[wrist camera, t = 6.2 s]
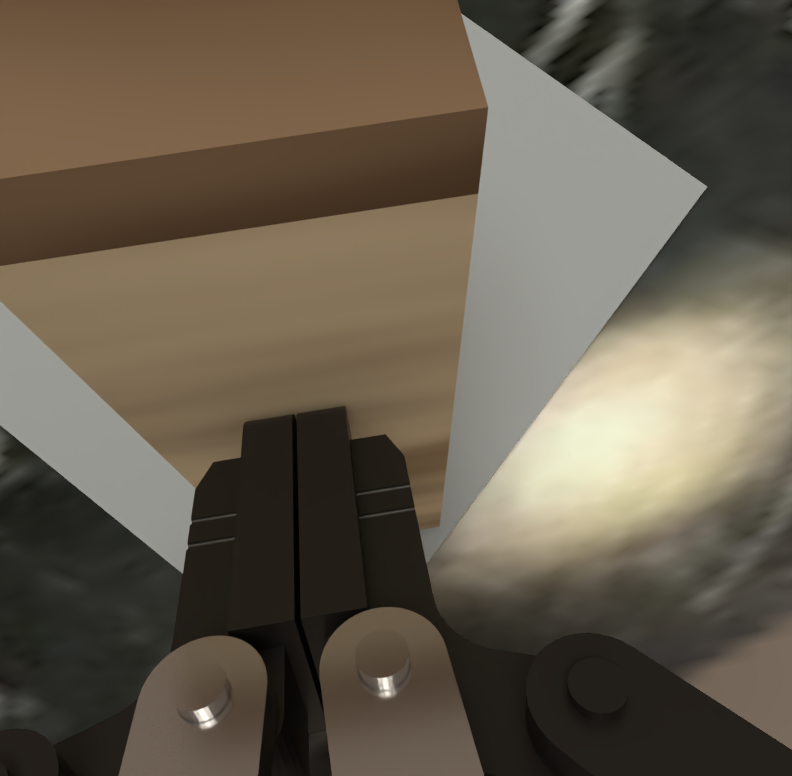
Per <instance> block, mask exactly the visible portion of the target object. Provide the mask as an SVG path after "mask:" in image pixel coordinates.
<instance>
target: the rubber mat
mask: <svg viewBox="0 0 792 776" xmlns="http://www.w3.org/2000/svg"><path fill="white" fill-rule="evenodd" d="M461 15H462V14H461ZM462 18H463V22H464V25H465V29H466V32H467V36H468V39H469V42H470V46H471V49H472V53H473V56H474V60H475V63H476V66H477V70H478V73H479V77H480V80H481V84H482V87H483V90H484V94H485V97H486V101H487V104H488V115H487V123H486V132H485V141H484V149H483V158H482V166H481V175H480V184H479V192H478V201H477V209H476V218H475V226H474V235H473V244H472V252H471V261H470V269H469V278H468V287H467V295H466V304H465V312H464V321H463V330H462V338H461V347H460V355H459V364H458V372H457V381H456V390H455V398H454V407H453V415H452V424H451V433H450V441H449V450H448V458H447V467H446V476H445V484H444V493H443V501H442V510H441V518H440V526H439V527H433V528H427V529H421V530H420V535H421V540H422V545H423V550H424V555H425V560H426V564H427V563H428V562H429V561H430V559H431V558H432V557H433V555H434V554H435V553H436V551H437V550H438V549H439V547H440V546H441V545H442V543H443V542H444V541H445V539H446V538H447V537H448V535H449V534H450V533H451V531H452V530H453V528H454V527H455V526H456V524H457V523H458V522H459V520H460V519H461V518H462V516H463V515H464V514H465V512H466V511H467V510H468V508H469V507H470V506H471V504H472V503H473V502H474V500H475V499H476V497H477V496H478V495H479V493H480V492H481V491H482V489H483V488H484V487H485V485H486V484H487V483H488V481H489V480H490V479H491V477H492V476H493V475H494V473H495V472H496V471H497V469H498V468H499V466H500V465H501V464H502V462H503V461H504V460H505V458H506V457H507V456H508V454H509V453H510V452H511V450H512V449H513V448H514V446H515V445H516V444H517V442H518V441H519V440H520V438H521V437H522V436H523V434H524V433H525V431H526V430H527V429H528V427H529V426H530V425H531V423H532V422H533V421H534V419H535V418H536V417H537V415H538V414H539V413H540V411H541V410H542V409H543V407H544V406H545V405H546V403H547V402H548V400H549V399H550V398H551V396H552V395H553V394H554V392H555V391H556V390H557V388H558V387H559V386H560V384H561V383H562V382H563V380H564V379H565V378H566V376H567V375H568V374H569V372H570V371H571V370H572V368H573V367H574V365H575V364H576V363H577V361H578V360H579V359H580V357H581V356H582V355H583V353H584V352H585V351H586V349H587V348H588V347H589V345H590V344H591V343H592V341H593V340H594V339H595V337H596V336H597V334H598V333H599V332H600V330H601V329H602V328H603V326H604V325H605V324H606V322H607V321H608V320H609V318H610V317H611V316H612V314H613V313H614V312H615V310H616V309H617V308H618V306H619V305H620V304H621V302H622V301H623V299H624V298H625V297H626V295H627V294H628V293H629V291H630V290H631V289H632V287H633V286H634V285H635V283H636V282H637V281H638V279H639V278H640V277H641V275H642V274H643V273H644V271H645V270H646V268H647V267H648V266H649V264H650V263H651V262H652V260H653V259H654V258H655V256H656V255H657V254H658V252H659V251H660V250H661V248H662V247H663V246H664V244H665V243H666V242H667V240H668V239H669V238H670V236H671V235H672V233H673V232H674V231H675V229H676V228H677V227H678V225H679V224H680V223H681V221H682V220H683V219H684V217H685V216H686V215H687V213H688V212H689V211H690V209H691V208H692V207H693V205H694V204H695V202H696V201H697V200H698V198H699V197H700V196H701V194H702V193H703V192H704V190H705V189H706V188H707V186H705V185H704V184H703V183H701V182H700V181H698V180H697V179H695V178H694V177H693V176H691V175H690V174H688V173H687V172H686V171H684V170H683V169H681V168H680V167H678V166H677V165H676V164H674V163H673V162H671V161H670V160H668V159H667V158H666V157H664V156H663V155H661V154H660V153H659V152H657V151H656V150H654V149H653V148H651V147H650V146H649V145H647V144H646V143H644V142H643V141H641V140H640V139H639V138H637V137H636V136H634V135H633V134H632V133H630V132H629V131H627V130H626V129H624V128H623V127H622V126H620V125H619V124H617V123H616V122H614V121H613V120H612V119H610V118H609V117H607V116H606V115H605V114H603V113H602V112H600V111H599V110H597V109H596V108H595V107H593V106H592V105H590V104H589V103H587V102H586V101H585V100H583V99H582V98H580V97H579V96H578V95H576V94H575V93H573V92H572V91H570V90H569V89H568V88H566V87H565V86H563V85H562V84H560V83H559V82H558V81H556V80H555V79H553V78H552V77H551V76H549V75H548V74H546V73H545V72H543V71H542V70H541V69H539V68H538V67H536V66H535V65H533V64H532V63H531V62H529V61H528V60H526V59H525V58H524V57H522V56H521V55H519V54H518V53H516V52H515V51H514V50H512V49H511V48H509V47H508V46H506V45H505V44H504V43H502V42H501V41H499V40H498V39H497V38H495V37H494V36H492V35H491V34H489V33H488V32H487V31H485V30H484V29H482V28H481V27H479V26H478V25H477V24H475V23H474V22H472V21H471V20H469V19H468V18H467V17H465V16H464V15H462ZM0 425H1V426H2V427H3V428H4V429H6V430H7V431H8V432H9V433H11V434H12V435H13V436H14V437H15V438H17V439H18V440H19V441H20V442H22V443H23V444H24V445H25V446H27V447H28V448H29V449H30V450H31V451H33V452H34V453H35V454H36V455H38V456H39V457H40V458H41V459H42V460H44V461H45V462H46V463H47V464H49V465H50V466H51V467H52V468H54V469H55V470H56V471H57V472H58V473H60V474H61V475H62V476H63V477H65V478H66V479H67V480H68V481H69V482H71V483H72V484H73V485H74V486H76V487H77V488H78V489H79V490H81V491H82V492H83V493H84V494H85V495H87V496H88V497H89V498H90V499H92V500H93V501H94V502H95V503H96V504H98V505H99V506H100V507H101V508H103V509H104V510H105V511H106V512H108V513H109V514H110V515H111V516H112V517H114V518H115V519H116V520H117V521H119V522H120V523H121V524H122V525H124V526H125V527H126V528H127V529H128V530H130V531H131V532H132V533H133V534H135V535H136V536H137V537H138V538H139V539H141V540H142V541H143V542H144V543H146V544H147V545H148V546H149V547H151V548H152V549H153V550H154V551H155V552H157V553H158V554H159V555H160V556H162V557H163V558H164V559H165V560H166V561H168V562H169V563H170V564H171V565H173V566H174V567H175V568H176V569H178V570H179V571H180V572H181V573H182V574H183V569H184V562H185V555H186V550H187V549H188V544H187V542H188V535H189V528H190V525H191V524H192V522H191V514H192V508H193V501H194V494H195V489H196V488H195V487H194V486H193V485H191V484H190V483H189V482H188V481H187V480H186V479H185V478H184V477H183V476H182V475H181V474H180V473H179V472H178V471H177V470H176V469H175V468H174V467H173V466H172V465H171V464H170V463H169V462H167V461H166V460H165V459H164V458H163V457H162V456H161V455H160V454H159V453H158V452H157V451H156V450H155V449H154V448H153V447H152V446H151V445H150V444H149V443H148V442H147V441H146V440H145V439H143V438H142V437H141V436H140V435H139V434H138V433H137V432H136V431H135V430H134V429H133V428H132V427H131V426H130V425H129V424H128V423H127V422H126V421H125V420H124V419H123V418H122V417H121V416H120V415H118V414H117V413H116V412H115V411H114V410H113V409H112V408H111V407H110V406H109V405H108V404H107V403H106V402H105V401H104V400H103V399H102V398H101V397H100V396H99V395H98V394H97V393H96V392H94V391H93V390H92V389H91V388H90V387H89V386H88V385H87V384H86V383H85V382H84V381H83V380H82V379H81V378H80V377H79V376H78V375H77V374H76V373H75V372H74V371H73V370H72V369H71V368H69V367H68V366H67V365H66V364H65V363H64V362H63V361H62V360H61V359H60V358H59V357H58V356H57V355H56V354H55V353H54V352H53V351H52V350H51V349H50V348H49V347H48V346H47V345H45V344H44V343H43V342H42V341H41V340H40V339H39V338H38V337H37V336H36V335H35V334H34V333H33V332H32V331H31V330H30V329H29V328H28V327H27V326H26V325H25V324H24V323H23V322H21V321H20V320H19V319H18V318H17V317H16V316H15V315H14V314H13V313H12V312H11V311H10V310H9V309H8V308H7V307H6V306H5V305H4V304H3V303H2V302H1V301H0Z"/></svg>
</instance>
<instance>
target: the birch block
mask: <svg viewBox="0 0 792 776" xmlns="http://www.w3.org/2000/svg"><path fill="white" fill-rule="evenodd" d="M487 115H488V104H487V101H486V97H485V94H484V90H483V87H482V84H481V80H480V77H479V73H478V70H477V66H476V63H475V60H474V56H473V53H472V49H471V46H470V42H469V39H468V36H467V32H466V29H465V25H464V22H463V18H462V15H461V12H460V8H459V5H458V1H457V0H0V301H1V302H2V303H3V304H4V305H5V306H6V307H7V308H8V309H9V310H10V311H11V312H12V313H13V314H14V315H15V316H16V317H17V318H18V319H19V320H20V321H21V322H23V323H24V324H25V325H26V326H27V327H28V328H29V329H30V330H31V331H32V332H33V333H34V334H35V335H36V336H37V337H38V338H39V339H40V340H41V341H42V342H43V343H44V344H45V345H47V346H48V347H49V348H50V349H51V350H52V351H53V352H54V353H55V354H56V355H57V356H58V357H59V358H60V359H61V360H62V361H63V362H64V363H65V364H66V365H67V366H68V367H69V368H71V369H72V370H73V371H74V372H75V373H76V374H77V375H78V376H79V377H80V378H81V379H82V380H83V381H84V382H85V383H86V384H87V385H88V386H89V387H90V388H91V389H92V390H93V391H94V392H96V393H97V394H98V395H99V396H100V397H101V398H102V399H103V400H104V401H105V402H106V403H107V404H108V405H109V406H110V407H111V408H112V409H113V410H114V411H115V412H116V413H117V414H118V415H120V416H121V417H122V418H123V419H124V420H125V421H126V422H127V423H128V424H129V425H130V426H131V427H132V428H133V429H134V430H135V431H136V432H137V433H138V434H139V435H140V436H141V437H142V438H143V439H145V440H146V441H147V442H148V443H149V444H150V445H151V446H152V447H153V448H154V449H155V450H156V451H157V452H158V453H159V454H160V455H161V456H162V457H163V458H164V459H165V460H166V461H167V462H169V463H170V464H171V465H172V466H173V467H174V468H175V469H176V470H177V471H178V472H179V473H180V474H181V475H182V476H183V477H184V478H185V479H186V480H187V481H188V482H189V483H190V484H191V485H193V486H194V487H195V488H196V487H197V486H198V484H199V483H200V481H201V480H202V478H203V477H204V475H205V474H206V472H207V471H208V469H209V468H210V466H211V465H212V463H213V462H216V461H222V460H229V459H235V458H241V447H242V434H243V425H244V423H245V422H247V421H254V420H260V419H266V418H273V417H279V416H285V415H292V414H294V415H295V418H296V420H297V414H298V413H303V412H310V411H316V410H322V409H329V408H335V407H341V406H346V410H347V415H348V420H349V426H350V431H351V437H352V440H353V439H359V438H365V437H371V436H378V435H384V434H386V435H387V437H388V438H389V439H390V440H391V441H392V442H393V443H394V444H395V446H396V447H397V448H398V449H399V450H400V451H401V452H402V453H403V455H404V456H405V461H406V466H407V471H408V476H409V481H410V487H411V491H412V496H413V500H414V505H415V511H416V515H417V520H418V525H419V530H421V529H427V528H433V527H439V526H440V518H441V510H442V501H443V493H444V484H445V476H446V467H447V458H448V450H449V441H450V433H451V424H452V415H453V407H454V398H455V390H456V381H457V372H458V364H459V355H460V347H461V338H462V330H463V321H464V312H465V304H466V295H467V287H468V278H469V269H470V261H471V252H472V244H473V235H474V226H475V218H476V209H477V201H478V192H479V184H480V175H481V166H482V158H483V149H484V141H485V132H486V123H487Z"/></svg>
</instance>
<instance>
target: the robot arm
mask: <svg viewBox="0 0 792 776" xmlns="http://www.w3.org/2000/svg"><path fill="white" fill-rule="evenodd" d="M191 522H192V524H191V525H190V528H189V535H188V542H187V544H188V549H187V550H186V555H185V562H184V569H183V576H182V583H181V589H180V596H179V603H178V610H177V617H176V624H175V630H174V637H173V643H172V648H171V652H170V654H169V655H168V656H167V657H165V658H164V659H163V660H162V661H161V662H160V663H159V664H158V665H157V666H156V667H155V668H154V670H153V671H152V672H151V674H150V675H149V677H148V678H147V680H146V682H145V683H144V685H143V687H142V689H141V692H140V695H139V698H138V699H137V700H136V701H135V702H134V703H133V704H131V705H130V706H128V707H127V708H125V709H124V710H123V711H121V712H119V713H118V714H116V715H114V716H112V717H110V718H108V719H106V720H104V721H102V722H100V723H98V724H96V725H94V726H92V727H90V728H88V729H86V730H84V731H82V732H80V733H78V734H76V735H74V736H71V737H69V738H67V739H65V740H63V741H61V742H59V743H57V744H55V745H52V744H51V743H50V742H49V741H48V740H47V739H46V738H45V737H44V736H43V735H41V734H39V733H37V732H35V731H31V730H27V729H9V730H3V731H0V776H309V739H308V734H309V733H315V732H320V731H327V739H328V747H329V755H330V763H331V771H332V776H792V750H791V749H789V748H788V747H786V746H785V745H783V744H782V743H780V742H779V741H777V740H776V739H774V738H772V737H771V736H769V735H768V734H766V733H765V732H763V731H762V730H760V729H759V728H757V727H755V726H754V725H752V724H751V723H749V722H748V721H746V720H745V719H743V718H742V717H740V716H738V715H737V714H735V713H734V712H732V711H731V710H729V709H728V708H726V707H725V706H723V705H721V704H720V703H718V702H717V701H715V700H713V699H712V698H711V697H709V696H708V695H706V694H704V693H703V692H701V691H700V690H698V689H697V688H695V687H694V686H692V685H691V684H689V683H687V682H686V681H684V680H683V679H681V678H680V677H678V676H677V675H675V674H674V673H672V672H670V671H669V670H667V669H666V668H664V667H663V666H661V665H660V664H658V663H657V662H655V661H653V660H652V659H650V658H649V657H647V656H646V655H644V654H643V653H641V652H639V651H638V650H636V649H635V648H633V647H632V646H630V645H628V644H626V643H624V642H623V641H620V640H618V639H615V638H612V637H609V636H605V635H601V634H592V633H580V634H573V635H568V636H564V637H562V638H560V639H557V640H555V641H553V642H552V643H550V644H549V645H547V646H546V647H545V648H544V649H543V650H542V651H541V652H539V654H538V655H537V656H534V655H527V654H519V653H512V652H505V651H498V650H493V649H489V648H485V647H482V646H479V645H476V644H474V643H472V642H470V641H468V640H466V639H464V638H463V637H461V636H460V635H458V634H457V633H456V632H454V631H453V630H452V629H451V628H450V627H449V626H448V625H447V624H446V622H445V621H444V620H443V618H442V617H441V616H440V614H439V612H438V610H437V608H436V605H435V602H434V598H433V594H432V589H431V584H430V579H429V574H428V569H427V564H426V560H425V555H424V550H423V545H422V540H421V535H420V530H419V525H418V520H417V515H416V511H415V505H414V500H413V496H412V491H411V487H410V481H409V476H408V471H407V466H406V461H405V456H404V455H403V453H402V452H401V451H400V450H399V449H398V448H397V447H396V446H395V444H394V443H393V442H392V441H391V440H390V439H389V438H388V437H387V435H386V434H384V435H378V436H371V437H365V438H359V439H353V440H352V437H351V431H350V426H349V420H348V415H347V410H346V406H341V407H335V408H329V409H322V410H316V411H310V412H303V413H298V414H297V420H296V418H295V415H294V414H292V415H285V416H279V417H273V418H266V419H260V420H254V421H247V422H245V423H244V425H243V434H242V447H241V458H235V459H229V460H222V461H216V462H213V463H212V465H211V466H210V468H209V469H208V471H207V472H206V474H205V475H204V477H203V478H202V480H201V481H200V483H199V484H198V486H197V487H196V489H195V494H194V501H193V508H192V514H191Z"/></svg>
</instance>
